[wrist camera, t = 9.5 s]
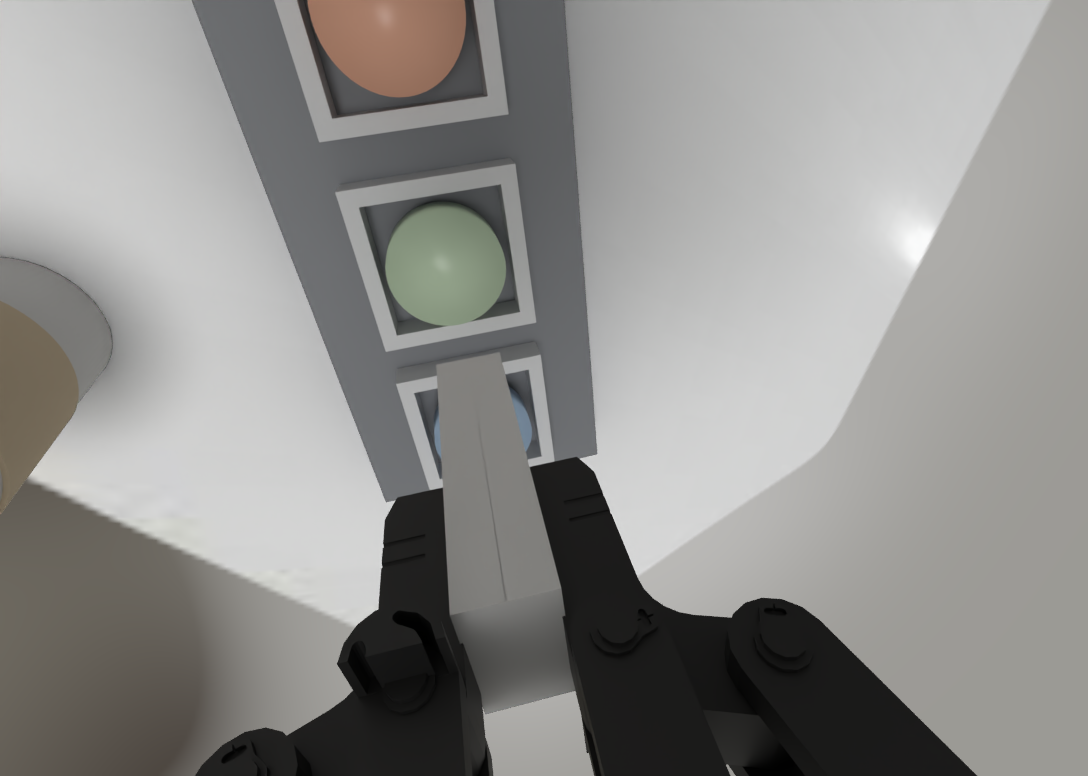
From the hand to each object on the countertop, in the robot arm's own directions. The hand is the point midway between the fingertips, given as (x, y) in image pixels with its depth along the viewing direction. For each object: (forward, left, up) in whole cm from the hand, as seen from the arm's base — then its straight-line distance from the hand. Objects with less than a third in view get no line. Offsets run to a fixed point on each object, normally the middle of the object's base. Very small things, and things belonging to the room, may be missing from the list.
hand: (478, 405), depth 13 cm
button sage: (0, 0, -13) cm, 13 cm away
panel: (0, 0, -16) cm, 16 cm away
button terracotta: (0, -9, -12) cm, 15 cm away
